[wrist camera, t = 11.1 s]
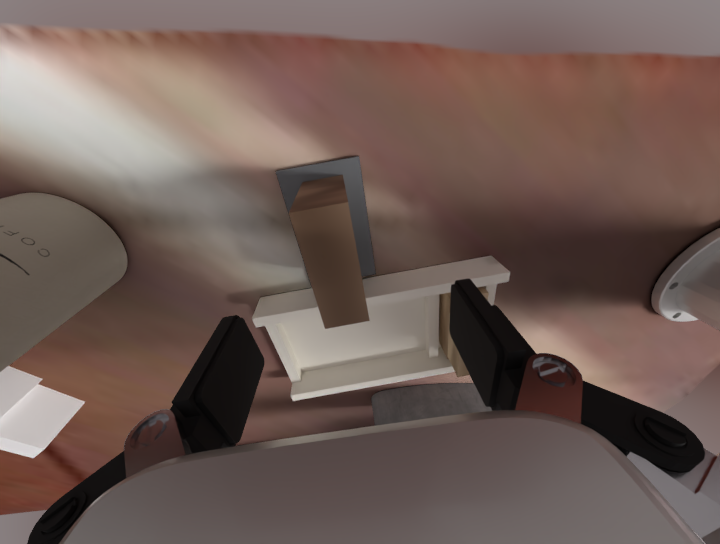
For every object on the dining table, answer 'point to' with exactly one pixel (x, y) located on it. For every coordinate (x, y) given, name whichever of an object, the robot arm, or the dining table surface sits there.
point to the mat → (355, 195)
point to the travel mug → (50, 267)
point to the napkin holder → (31, 413)
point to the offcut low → (444, 317)
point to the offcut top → (456, 357)
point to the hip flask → (426, 402)
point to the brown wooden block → (330, 250)
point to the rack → (371, 330)
